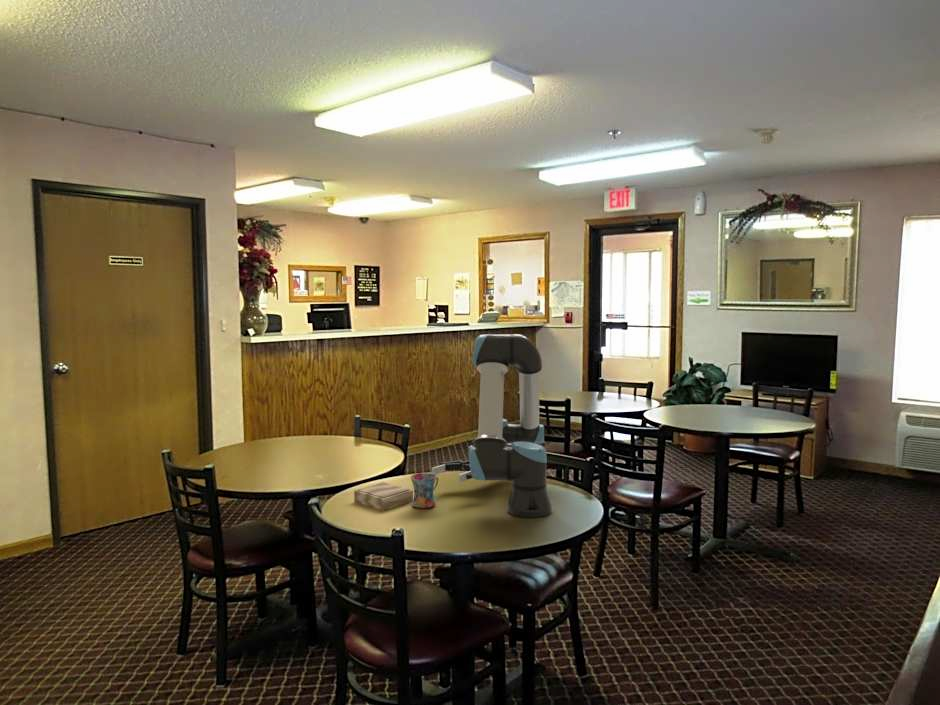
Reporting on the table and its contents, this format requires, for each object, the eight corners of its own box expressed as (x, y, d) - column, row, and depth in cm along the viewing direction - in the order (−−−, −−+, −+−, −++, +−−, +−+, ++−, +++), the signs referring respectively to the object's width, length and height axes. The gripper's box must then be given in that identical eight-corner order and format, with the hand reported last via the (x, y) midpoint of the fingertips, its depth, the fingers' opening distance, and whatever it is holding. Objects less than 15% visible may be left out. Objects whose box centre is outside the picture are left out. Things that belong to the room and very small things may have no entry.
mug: (424, 511, 222) (423, 481, 221) (405, 506, 228) (404, 477, 227) (447, 503, 231) (447, 474, 230) (428, 498, 237) (428, 470, 236)
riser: (412, 500, 234) (412, 489, 234) (383, 510, 224) (383, 498, 223) (383, 492, 245) (383, 481, 244) (354, 501, 234) (354, 489, 234)
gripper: (508, 478, 245) (471, 491, 229) (459, 466, 261) (422, 478, 245) (508, 458, 244) (471, 471, 228) (459, 448, 260) (421, 459, 245)
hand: (445, 475), depth 237 cm, fingers open, 13 cm apart
